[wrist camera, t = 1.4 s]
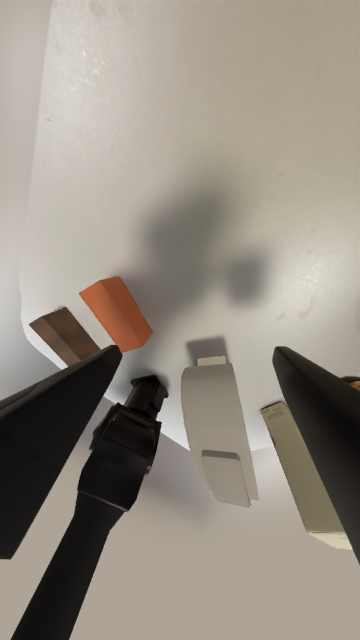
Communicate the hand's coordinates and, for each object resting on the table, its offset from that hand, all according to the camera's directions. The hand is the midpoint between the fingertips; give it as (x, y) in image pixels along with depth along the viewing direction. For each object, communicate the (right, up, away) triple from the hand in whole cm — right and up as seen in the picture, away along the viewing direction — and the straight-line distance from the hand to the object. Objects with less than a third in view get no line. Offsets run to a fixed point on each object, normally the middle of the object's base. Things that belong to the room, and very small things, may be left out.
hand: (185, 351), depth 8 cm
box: (+19, -16, +18) cm, 30 cm away
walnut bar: (-20, -1, +18) cm, 27 cm away
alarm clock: (+7, -12, +18) cm, 23 cm away
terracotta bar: (-9, +3, +14) cm, 17 cm away
